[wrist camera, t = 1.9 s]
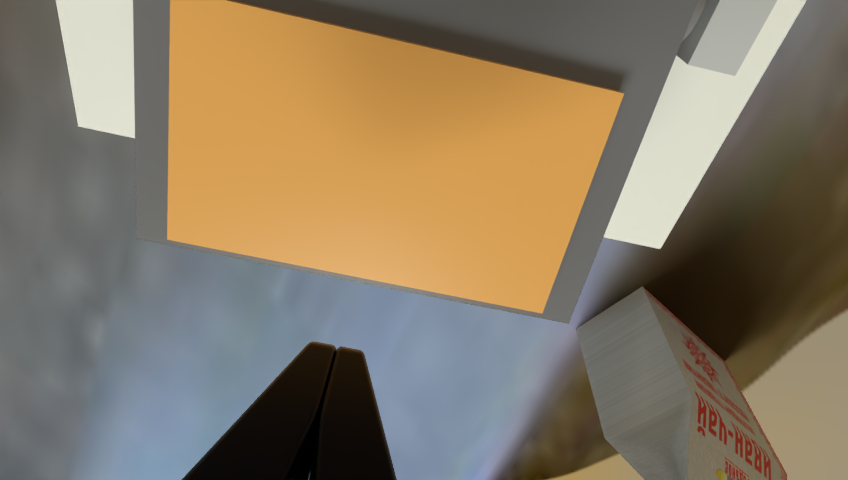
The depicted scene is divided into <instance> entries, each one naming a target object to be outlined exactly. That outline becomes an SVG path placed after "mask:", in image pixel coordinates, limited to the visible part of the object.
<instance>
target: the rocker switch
mask: <svg viewBox="0 0 848 480" xmlns="http://www.w3.org/2000/svg"><path fill="white" fill-rule="evenodd" d="M706 1H707V0H133V38H134V104H135V170H136V236H137V239H141V240H146V241H151V242H156V243H161V244H166V245H171V246H177V247H182V248H187V249H192V250H197V251H202V252H207V253H212V254H217V255H222V256H227V257H232V258H238V259H243V260H248V261H253V262H258V263H263V264H268V265H273V266H278V267H283V268H288V269H293V270H299V271H304V272H309V273H314V274H319V275H324V276H329V277H334V278H339V279H344V280H349V281H354V282H360V283H365V284H370V285H375V286H380V287H385V288H390V289H395V290H400V291H405V292H410V293H416V294H421V295H426V296H431V297H436V298H441V299H446V300H451V301H456V302H461V303H466V304H471V305H477V306H482V307H487V308H492V309H497V310H502V311H507V312H512V313H517V314H522V315H527V316H532V317H538V318H543V319H548V320H553V321H558V322H563V323H568V324H569V321H570V319H571V316H572V314H573V311H574V309H575V306H576V304H577V301H578V299H579V296H580V294H581V291H582V289H583V286H584V284H585V281H586V279H587V276H588V274H589V271H590V269H591V266H592V264H593V262H594V259H595V257H596V254H597V252H598V249H599V247H600V244H601V242H602V239H603V237H604V234H605V232H606V229H607V227H608V224H609V222H610V219H611V217H612V214H613V212H614V209H615V207H616V204H617V202H618V199H619V197H620V194H621V192H622V189H623V187H624V184H625V182H626V179H627V177H628V174H629V172H630V169H631V167H632V164H633V162H634V159H635V157H636V154H637V152H638V149H639V147H640V144H641V142H642V139H643V137H644V134H645V132H646V130H647V127H648V125H649V122H650V120H651V117H652V115H653V112H654V110H655V107H656V105H657V102H658V100H659V97H660V95H661V92H662V90H663V87H664V85H665V82H666V80H667V77H668V75H669V72H670V70H671V67H672V65H673V62H674V60H675V57H676V55H677V52H678V50H679V47H680V45H681V42H682V41H683V40H684V39H685V38H686V37H687V36H688V35H689V34H690V32H691V31H692V30H693V28H694V27H695V25H696V23H697V22H698V20H699V18H700V16H701V14H702V12H703V9H704V7H705V4H706Z"/></svg>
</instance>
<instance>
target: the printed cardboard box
mask: <svg viewBox="0 0 848 480" xmlns="http://www.w3.org/2000/svg"><path fill="white" fill-rule="evenodd" d="M576 331H577V334H578V338H579V342H580V346H581V350H582V354H583V357H584V361H585V365H586V369H587V373H588V376H589V380H590V384H591V388H592V392H593V395H594V399H595V403H596V407H597V411H598V414H599V418H600V422H601V426H602V430H603V433H604V437H605V439H606V440H607V441H608V442H609V443H610V444H611V445H612V446H613V447H614V448H615V449H616V450H617V451H618V452H619V453H620V454H621V456H622V457H623V458H624V459H625V460H626V461H627V462H628V463H629V464H630V465H631V466H632V467H633V468H634V469H635V470H636V471H637V472H638V473H639V474H640V475H641V476H642V477H643V478H644V480H787V474H786V472H785V470H784V468H783V467H782V465H781V463H780V461H779V459H778V457H777V456H776V454H775V452H774V450H773V448H772V447H771V445H770V443H769V441H768V439H767V438H766V436H765V434H764V432H763V430H762V428H761V427H760V425H759V423H758V421H757V419H756V417H755V416H754V414H753V412H752V410H751V408H750V407H749V405H748V403H747V401H746V399H745V398H744V396H743V394H742V392H741V390H740V388H739V387H738V385H737V383H736V381H735V379H734V377H733V376H732V374H731V372H730V370H729V368H728V367H727V365H726V363H725V361H724V360H723V359H722V358H720V357H719V356H718V355H717V354H716V353H715V352H714V351H713V350H712V349H711V348H710V347H708V346H707V345H706V344H705V343H704V342H703V341H702V340H701V339H700V338H699V337H698V336H696V335H695V334H694V333H693V332H692V331H691V330H690V329H689V328H688V327H687V326H685V325H684V324H683V323H682V322H681V321H680V320H679V319H678V318H677V317H676V316H675V315H673V314H672V313H671V312H670V311H669V310H668V309H667V308H666V307H665V306H664V305H663V304H661V303H660V302H659V301H658V300H657V299H656V298H655V297H654V296H653V295H652V294H650V293H649V292H648V291H647V290H646V289H645V288H644V287H643V286H642V287H641V288H639V289H637V290H636V291H634V292H633V293H631V294H630V295H628V296H626V297H625V298H623V299H622V300H620V301H619V302H617V303H616V304H614V305H612V306H611V307H609V308H608V309H606V310H605V311H603V312H601V313H600V314H598V315H597V316H595V317H594V318H592V319H591V320H589V321H587V322H586V323H584V324H583V325H581V326H580V327H578V328H576Z"/></svg>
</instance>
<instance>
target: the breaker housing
mask: <svg viewBox="0 0 848 480" xmlns="http://www.w3.org/2000/svg"><path fill="white" fill-rule="evenodd" d="M805 2H806V0H707V1H706V4H705V7H704V9H703V12H702V14H701V16H700V18H699V20H698V22H697V23H696V25H695V27H694V28H693V30H692V31H691V32H690V34H689V35H688V36H687V37H686V38H685V39H684V40H683V41H682V42H681V45H680V47H679V50H678V52H677V55H676V57H675V60H674V62H673V65H672V67H671V70H670V72H669V75H668V77H667V80H666V82H665V85H664V87H663V90H662V92H661V95H660V97H659V100H658V102H657V105H656V107H655V110H654V112H653V115H652V117H651V120H650V122H649V125H648V127H647V130H646V132H645V134H644V137H643V139H642V142H641V144H640V147H639V149H638V152H637V154H636V157H635V159H634V162H633V164H632V167H631V169H630V172H629V174H628V177H627V179H626V182H625V184H624V187H623V189H622V192H621V194H620V197H619V199H618V202H617V204H616V207H615V209H614V212H613V214H612V217H611V219H610V222H609V224H608V227H607V229H606V232H605V234H604V237H605V238H610V239H615V240H619V241H624V242H629V243H634V244H638V245H643V246H648V247H653V248H657V249H661V247H662V245H663V244H664V242H665V240H666V239H667V237H668V235H669V233H670V232H671V230H672V228H673V227H674V225H675V223H676V222H677V220H678V218H679V216H680V215H681V213H682V211H683V210H684V208H685V206H686V205H687V203H688V201H689V199H690V198H691V196H692V194H693V193H694V191H695V189H696V188H697V186H698V184H699V182H700V181H701V179H702V177H703V176H704V174H705V172H706V171H707V169H708V167H709V165H710V164H711V162H712V160H713V159H714V157H715V155H716V154H717V152H718V150H719V148H720V147H721V145H722V143H723V142H724V140H725V138H726V137H727V135H728V133H729V131H730V130H731V128H732V126H733V125H734V123H735V121H736V120H737V118H738V116H739V114H740V113H741V111H742V109H743V108H744V106H745V104H746V103H747V101H748V99H749V97H750V96H751V94H752V92H753V91H754V89H755V87H756V86H757V84H758V82H759V80H760V79H761V77H762V75H763V74H764V72H765V70H766V69H767V67H768V65H769V63H770V62H771V60H772V58H773V57H774V55H775V53H776V51H777V50H778V48H779V46H780V45H781V43H782V41H783V40H784V38H785V36H786V34H787V33H788V31H789V29H790V28H791V26H792V24H793V23H794V21H795V19H796V17H797V16H798V14H799V12H800V11H801V9H802V7H803V6H804V4H805ZM56 4H57V10H58V15H59V21H60V26H61V32H62V38H63V43H64V49H65V54H66V60H67V65H68V71H69V77H70V82H71V88H72V93H73V99H74V105H75V110H76V116H77V121H78V126H79V127H84V128H89V129H94V130H98V131H103V132H108V133H113V134H117V135H122V136H127V137H132V138H135V104H134V38H133V0H56Z"/></svg>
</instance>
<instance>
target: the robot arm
mask: <svg viewBox="0 0 848 480" xmlns="http://www.w3.org/2000/svg"><path fill="white" fill-rule="evenodd" d="M309 476H310V477H309ZM182 480H396V476H395V472H394V468H393V464H392V460H391V456H390V452H389V448H388V445H387V441H386V437H385V433H384V429H383V425H382V421H381V417H380V413H379V410H378V406H377V402H376V398H375V394H374V390H373V386H372V382H371V378H370V374H369V371H368V367H367V363H366V359H365V355H364V353H363V352H362V351H361V350H356V349H351V348H346V347H339V348H338V349H337V350H336V348H335V346H333V345H330V344H324V343H319V342H311V343H309V344H308V345H307V346H306V347H305V348H304V349H303V350H302V351H301V352H300V353H299V354H298V355H297V356H296V357H295V358H294V360H293V361H292V362H291V363H290V364H289V365H288V366H287V367H286V368H285V369H284V370H283V371H282V372H281V374H280V375H279V376H278V377H277V378H276V379H275V380H274V381H273V382H272V383H271V384H270V385H269V386H268V388H267V389H266V390H265V391H264V392H263V393H262V394H261V395H260V396H259V397H258V398H257V399H256V400H255V401H254V403H253V404H252V405H251V406H250V407H249V408H248V409H247V410H246V411H245V412H244V413H243V414H242V415H241V417H240V418H239V419H238V420H237V421H236V422H235V423H234V424H233V425H232V426H231V427H230V428H229V429H228V431H227V432H226V433H225V434H224V435H223V436H222V437H221V438H220V439H219V440H218V441H217V442H216V443H215V445H214V446H213V447H212V448H211V449H210V450H209V451H208V452H207V453H206V454H205V455H204V456H203V457H202V458H201V460H200V461H199V462H198V463H197V464H196V465H195V466H194V467H193V468H192V469H191V470H190V471H189V472H188V474H187V475H186V476H185V477H184V478H183V479H182Z"/></svg>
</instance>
